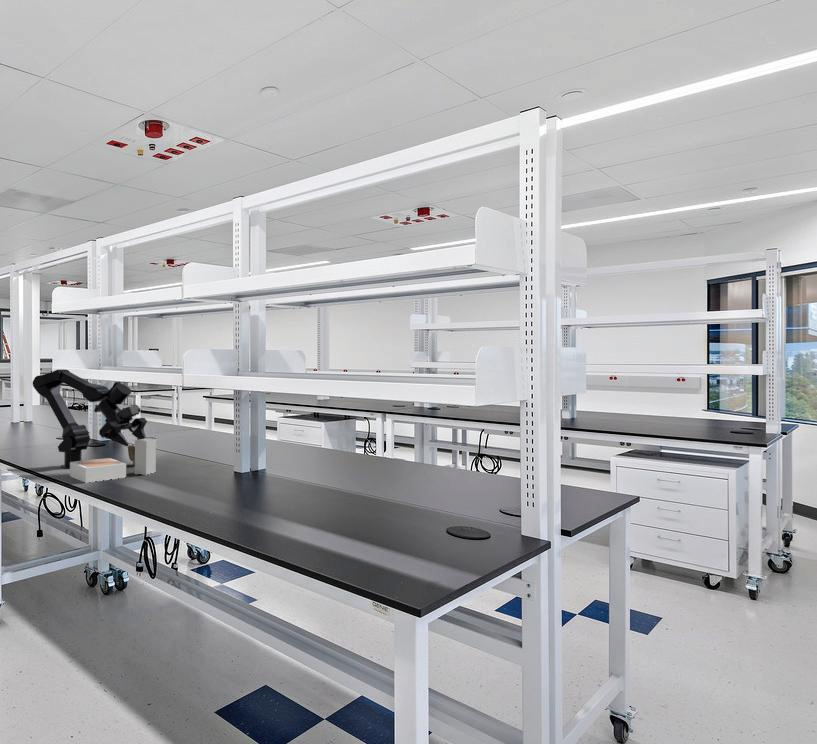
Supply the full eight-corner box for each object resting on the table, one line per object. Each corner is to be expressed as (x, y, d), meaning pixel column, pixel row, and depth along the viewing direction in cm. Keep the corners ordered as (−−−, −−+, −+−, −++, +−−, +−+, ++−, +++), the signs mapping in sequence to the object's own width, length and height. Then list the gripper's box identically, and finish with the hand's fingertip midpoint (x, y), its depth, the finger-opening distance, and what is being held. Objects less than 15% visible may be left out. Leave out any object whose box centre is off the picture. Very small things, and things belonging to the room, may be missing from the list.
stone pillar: (134, 474, 209) (135, 440, 209) (144, 471, 214) (144, 438, 214) (146, 475, 208) (146, 441, 208) (155, 472, 213) (156, 439, 213)
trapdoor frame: (69, 476, 204) (69, 462, 204) (109, 471, 214) (109, 457, 214) (85, 483, 194) (85, 468, 194) (126, 477, 204) (126, 463, 203)
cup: (130, 467, 221) (130, 447, 220) (125, 464, 226) (125, 444, 226) (150, 465, 225) (150, 445, 225) (145, 462, 231) (145, 443, 231)
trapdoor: (76, 473, 204) (76, 462, 204) (106, 469, 211) (106, 458, 211) (89, 478, 196) (89, 467, 196) (119, 474, 203) (119, 463, 203)
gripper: (105, 399, 204) (131, 432, 201) (143, 396, 222) (167, 426, 219) (87, 420, 206) (112, 453, 204) (126, 416, 224) (149, 445, 222)
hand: (137, 443), depth 212 cm, fingers open, 9 cm apart
